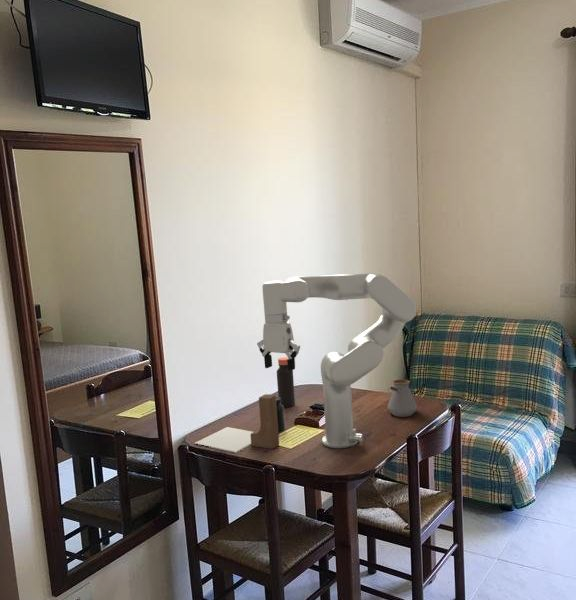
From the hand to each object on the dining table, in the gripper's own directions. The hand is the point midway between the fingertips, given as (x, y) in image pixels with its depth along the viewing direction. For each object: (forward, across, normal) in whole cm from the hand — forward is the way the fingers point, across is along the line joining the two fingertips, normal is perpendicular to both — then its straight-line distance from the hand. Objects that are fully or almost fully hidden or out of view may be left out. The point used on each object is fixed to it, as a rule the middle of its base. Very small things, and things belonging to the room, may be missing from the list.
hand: (280, 368), depth 205 cm
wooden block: (+28, +8, +1) cm, 30 cm away
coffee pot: (+29, -20, -46) cm, 57 cm away
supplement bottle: (+28, +15, -14) cm, 35 cm away
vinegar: (+28, +29, -39) cm, 57 cm away
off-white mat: (+28, +23, +2) cm, 36 cm away
